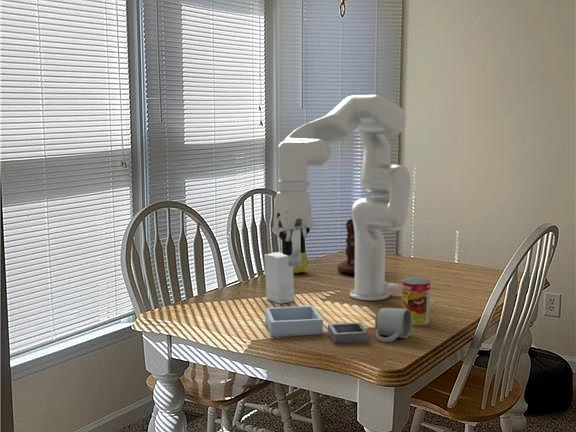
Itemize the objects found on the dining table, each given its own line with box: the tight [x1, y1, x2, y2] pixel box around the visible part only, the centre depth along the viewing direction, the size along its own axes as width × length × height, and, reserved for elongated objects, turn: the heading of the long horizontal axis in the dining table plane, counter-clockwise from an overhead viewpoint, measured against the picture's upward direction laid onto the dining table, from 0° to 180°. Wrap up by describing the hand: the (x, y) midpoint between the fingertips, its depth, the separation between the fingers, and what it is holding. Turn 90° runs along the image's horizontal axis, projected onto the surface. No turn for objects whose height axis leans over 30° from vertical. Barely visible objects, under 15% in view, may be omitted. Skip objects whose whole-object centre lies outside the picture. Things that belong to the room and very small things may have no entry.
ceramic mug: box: [374, 307, 413, 343], centre depth 199 cm, size 11×8×8 cm
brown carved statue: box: [337, 218, 355, 274], centre depth 272 cm, size 15×15×20 cm
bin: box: [264, 305, 324, 337], centre depth 208 cm, size 14×14×4 cm
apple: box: [293, 252, 309, 274], centre depth 273 cm, size 8×8×10 cm
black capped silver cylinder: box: [286, 219, 302, 266], centre depth 205 cm, size 5×5×13 cm
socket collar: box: [327, 322, 370, 345], centre depth 199 cm, size 9×9×2 cm
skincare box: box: [263, 251, 296, 304], centre depth 236 cm, size 8×6×15 cm
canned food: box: [401, 276, 431, 326], centre depth 212 cm, size 8×8×12 cm
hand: (293, 252), depth 205 cm, fingers closed on black capped silver cylinder, 4 cm apart
